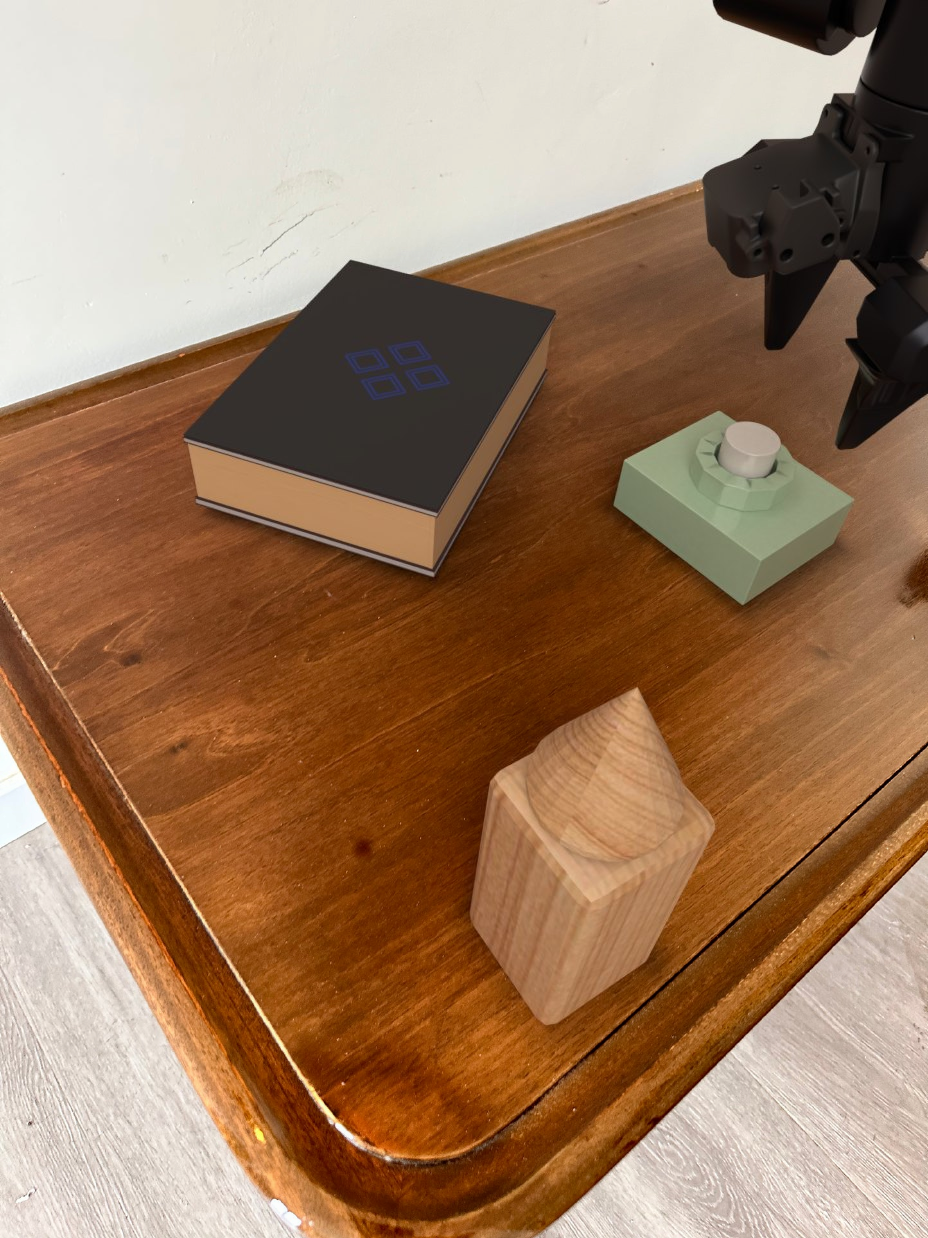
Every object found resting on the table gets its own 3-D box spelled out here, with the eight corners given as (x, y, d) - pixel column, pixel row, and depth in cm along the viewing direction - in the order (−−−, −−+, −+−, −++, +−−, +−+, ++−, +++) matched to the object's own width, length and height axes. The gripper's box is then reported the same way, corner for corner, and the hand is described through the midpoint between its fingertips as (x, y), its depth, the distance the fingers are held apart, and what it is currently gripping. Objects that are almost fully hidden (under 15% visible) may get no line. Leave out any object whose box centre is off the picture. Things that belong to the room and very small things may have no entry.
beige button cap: (782, 466, 63) (792, 442, 61) (748, 487, 61) (757, 462, 60) (740, 439, 65) (749, 414, 63) (706, 458, 63) (714, 433, 62)
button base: (833, 544, 67) (865, 478, 62) (742, 606, 62) (770, 539, 58) (704, 455, 72) (725, 388, 68) (612, 505, 68) (628, 438, 63)
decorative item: (569, 853, 49) (649, 589, 34) (653, 960, 46) (782, 717, 31) (463, 917, 47) (500, 662, 32) (543, 1036, 43) (627, 811, 28)
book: (197, 512, 65) (181, 434, 60) (351, 332, 81) (349, 258, 76) (433, 587, 61) (437, 510, 56) (545, 383, 77) (556, 309, 72)
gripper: (676, 15, 45) (617, 312, 57) (856, 192, 33) (734, 522, 45) (887, 16, 47) (788, 303, 59) (1130, 184, 35) (944, 503, 47)
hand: (806, 395), depth 52 cm, fingers open, 9 cm apart
